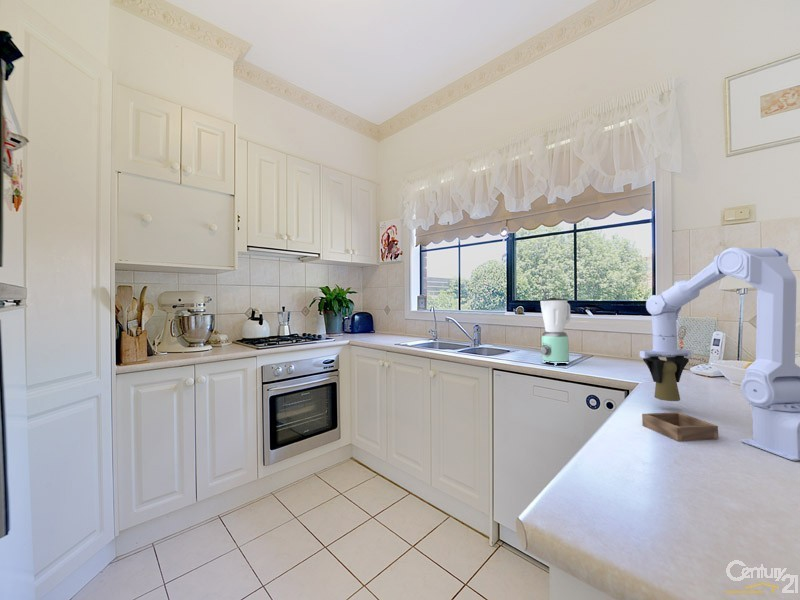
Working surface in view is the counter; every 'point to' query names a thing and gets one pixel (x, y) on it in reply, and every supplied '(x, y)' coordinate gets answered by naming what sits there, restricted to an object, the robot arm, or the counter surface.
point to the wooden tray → (680, 426)
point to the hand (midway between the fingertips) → (666, 381)
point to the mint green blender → (555, 330)
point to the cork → (668, 383)
